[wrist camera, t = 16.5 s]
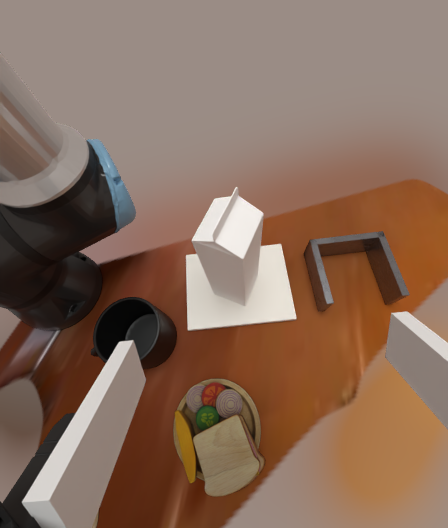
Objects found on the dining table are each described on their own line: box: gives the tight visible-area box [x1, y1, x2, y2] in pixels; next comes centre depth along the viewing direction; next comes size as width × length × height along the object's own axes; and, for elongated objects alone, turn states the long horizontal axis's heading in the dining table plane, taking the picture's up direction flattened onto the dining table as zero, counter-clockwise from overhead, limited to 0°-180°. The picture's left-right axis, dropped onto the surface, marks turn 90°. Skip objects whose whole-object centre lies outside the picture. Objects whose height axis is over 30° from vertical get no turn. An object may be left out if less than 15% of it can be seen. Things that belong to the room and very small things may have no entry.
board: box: [186, 244, 297, 331], centre depth 44 cm, size 18×14×1 cm
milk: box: [192, 187, 264, 306], centre depth 33 cm, size 6×6×22 cm
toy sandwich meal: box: [173, 379, 265, 497], centre depth 34 cm, size 12×14×5 cm
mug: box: [91, 297, 177, 369], centre depth 38 cm, size 9×12×9 cm
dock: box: [304, 231, 409, 312], centre depth 41 cm, size 12×11×5 cm
